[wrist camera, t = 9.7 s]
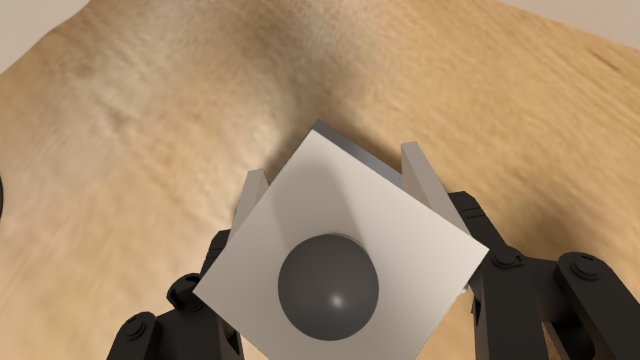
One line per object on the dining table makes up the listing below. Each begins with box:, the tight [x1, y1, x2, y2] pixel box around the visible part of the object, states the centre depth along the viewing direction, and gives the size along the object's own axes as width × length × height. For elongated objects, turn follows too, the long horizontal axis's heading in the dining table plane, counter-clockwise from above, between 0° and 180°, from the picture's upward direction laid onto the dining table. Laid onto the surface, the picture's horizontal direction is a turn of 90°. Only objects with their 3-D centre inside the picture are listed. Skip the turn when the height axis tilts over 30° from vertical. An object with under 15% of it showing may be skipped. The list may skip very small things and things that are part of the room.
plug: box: [193, 129, 489, 360], centre depth 12 cm, size 5×5×14 cm
